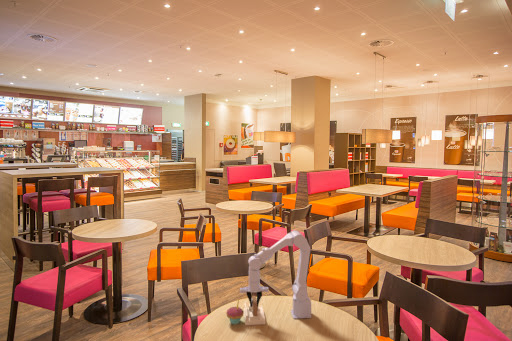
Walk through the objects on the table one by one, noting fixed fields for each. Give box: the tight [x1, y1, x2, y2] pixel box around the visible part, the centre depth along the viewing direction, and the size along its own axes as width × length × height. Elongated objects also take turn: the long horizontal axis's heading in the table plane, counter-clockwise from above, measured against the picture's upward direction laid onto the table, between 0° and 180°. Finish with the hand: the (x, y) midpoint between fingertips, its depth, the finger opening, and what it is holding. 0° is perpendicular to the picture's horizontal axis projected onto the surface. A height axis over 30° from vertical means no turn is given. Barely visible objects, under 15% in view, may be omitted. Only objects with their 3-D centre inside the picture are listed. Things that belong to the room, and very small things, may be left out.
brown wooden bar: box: [252, 295, 257, 316], centre depth 161 cm, size 2×11×5 cm, turn 5°
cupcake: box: [225, 299, 244, 325], centre depth 157 cm, size 9×8×12 cm
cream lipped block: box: [243, 302, 266, 326], centre depth 161 cm, size 10×13×5 cm
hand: (254, 305), depth 161 cm, fingers open, 3 cm apart
